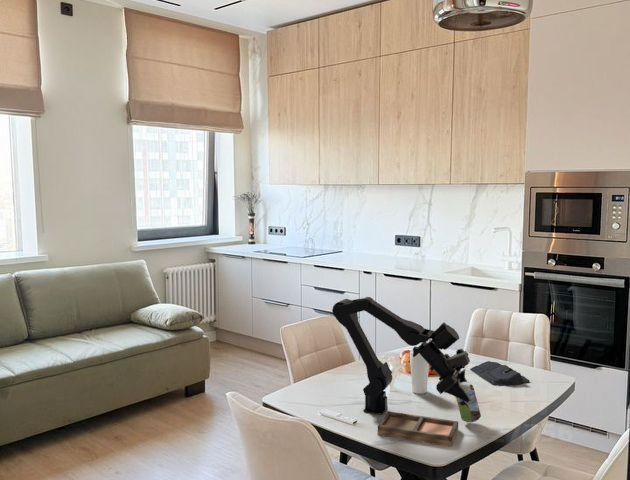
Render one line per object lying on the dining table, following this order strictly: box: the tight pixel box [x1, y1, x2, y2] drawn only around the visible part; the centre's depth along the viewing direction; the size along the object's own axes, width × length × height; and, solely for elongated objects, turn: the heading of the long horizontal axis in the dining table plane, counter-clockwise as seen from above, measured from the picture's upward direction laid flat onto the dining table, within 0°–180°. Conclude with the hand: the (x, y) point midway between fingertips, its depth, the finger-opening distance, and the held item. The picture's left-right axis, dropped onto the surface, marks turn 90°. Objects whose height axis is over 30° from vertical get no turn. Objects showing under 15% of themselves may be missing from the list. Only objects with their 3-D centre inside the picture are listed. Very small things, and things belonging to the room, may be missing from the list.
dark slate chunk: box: [469, 360, 530, 387], centre depth 225 cm, size 15×22×5 cm
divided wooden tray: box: [377, 411, 459, 447], centre depth 175 cm, size 22×12×3 cm, turn 68°
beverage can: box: [455, 381, 482, 424], centre depth 180 cm, size 6×7×12 cm
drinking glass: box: [409, 349, 430, 395], centre depth 208 cm, size 7×7×15 cm
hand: (470, 397), depth 179 cm, fingers closed on beverage can, 6 cm apart
